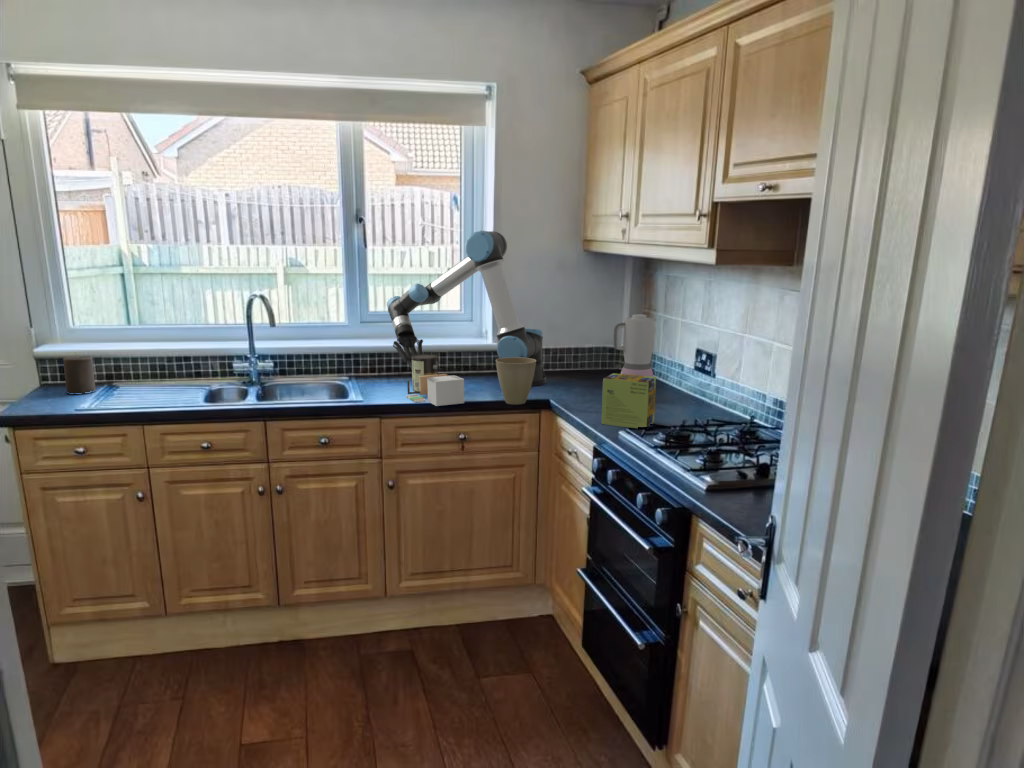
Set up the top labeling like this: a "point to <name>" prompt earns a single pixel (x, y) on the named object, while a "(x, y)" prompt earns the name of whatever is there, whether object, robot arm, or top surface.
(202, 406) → the top surface
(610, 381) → the protein box
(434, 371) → the coffee can
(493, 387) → the top surface
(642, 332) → the blender
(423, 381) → the gauge plunger
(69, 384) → the pillar candle
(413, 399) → the gauge frame
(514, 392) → the plant pot
